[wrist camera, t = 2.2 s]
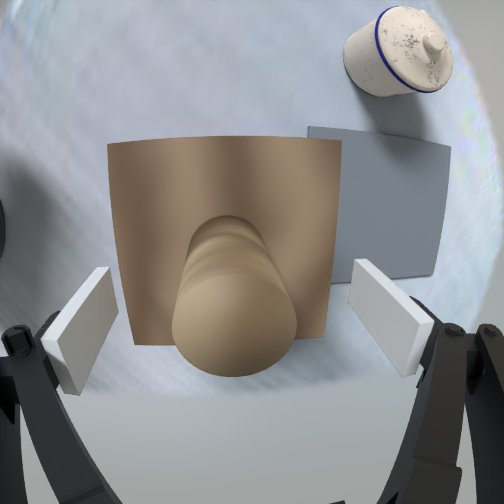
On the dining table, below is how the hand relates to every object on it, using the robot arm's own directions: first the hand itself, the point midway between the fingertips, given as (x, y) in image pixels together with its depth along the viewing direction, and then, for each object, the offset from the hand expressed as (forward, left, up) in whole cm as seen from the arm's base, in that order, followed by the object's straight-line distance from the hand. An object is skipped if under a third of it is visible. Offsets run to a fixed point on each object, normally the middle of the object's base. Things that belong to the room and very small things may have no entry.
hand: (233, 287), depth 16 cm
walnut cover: (0, 0, -6) cm, 6 cm away
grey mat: (+19, 0, -18) cm, 26 cm away
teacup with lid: (+18, +19, -18) cm, 32 cm away
